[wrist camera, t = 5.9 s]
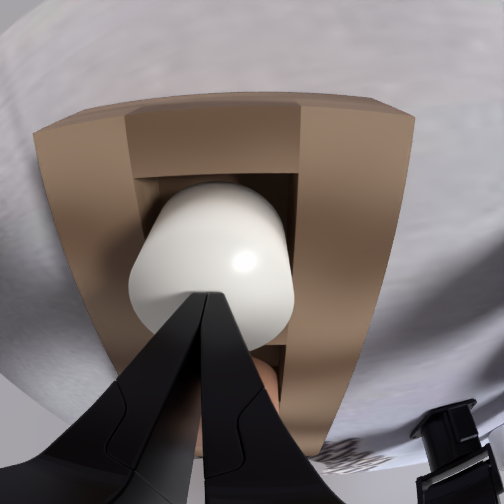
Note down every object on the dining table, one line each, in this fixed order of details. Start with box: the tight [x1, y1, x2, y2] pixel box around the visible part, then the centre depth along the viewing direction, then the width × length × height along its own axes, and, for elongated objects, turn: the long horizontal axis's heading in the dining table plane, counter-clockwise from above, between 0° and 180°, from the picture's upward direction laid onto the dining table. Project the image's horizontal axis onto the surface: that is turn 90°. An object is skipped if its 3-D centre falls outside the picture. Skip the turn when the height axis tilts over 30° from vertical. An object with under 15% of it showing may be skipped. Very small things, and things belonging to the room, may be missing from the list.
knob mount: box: [33, 92, 415, 457], centre depth 17 cm, size 24×12×4 cm, turn 1°
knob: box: [128, 181, 294, 351], centre depth 10 cm, size 4×4×3 cm
